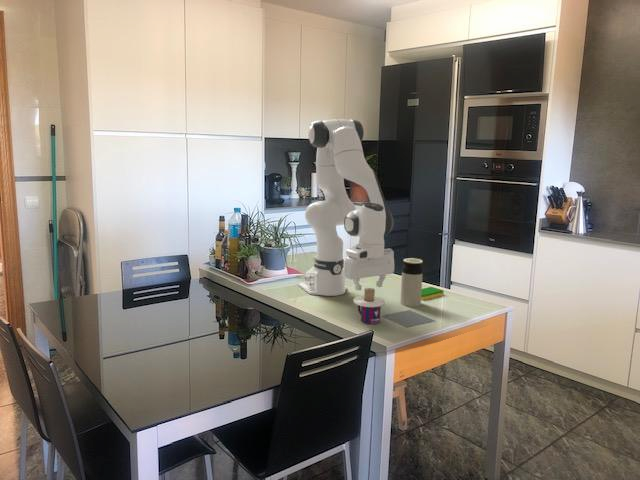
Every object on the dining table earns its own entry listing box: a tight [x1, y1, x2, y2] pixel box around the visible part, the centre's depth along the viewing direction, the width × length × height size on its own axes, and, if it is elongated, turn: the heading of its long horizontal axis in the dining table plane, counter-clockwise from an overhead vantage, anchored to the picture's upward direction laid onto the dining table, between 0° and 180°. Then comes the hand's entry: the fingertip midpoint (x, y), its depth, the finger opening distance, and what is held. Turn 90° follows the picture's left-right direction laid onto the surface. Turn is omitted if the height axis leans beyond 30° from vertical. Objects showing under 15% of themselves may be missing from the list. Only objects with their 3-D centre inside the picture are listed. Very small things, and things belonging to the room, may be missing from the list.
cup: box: [357, 305, 382, 325], centre depth 185 cm, size 7×10×7 cm
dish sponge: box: [421, 286, 445, 301], centre depth 219 cm, size 7×14×2 cm, turn 129°
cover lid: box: [353, 287, 386, 307], centre depth 184 cm, size 11×11×5 cm
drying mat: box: [381, 309, 436, 329], centre depth 189 cm, size 14×14×1 cm
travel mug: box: [399, 257, 424, 308], centre depth 205 cm, size 8×8×18 cm
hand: (368, 288), depth 184 cm, fingers open, 8 cm apart
